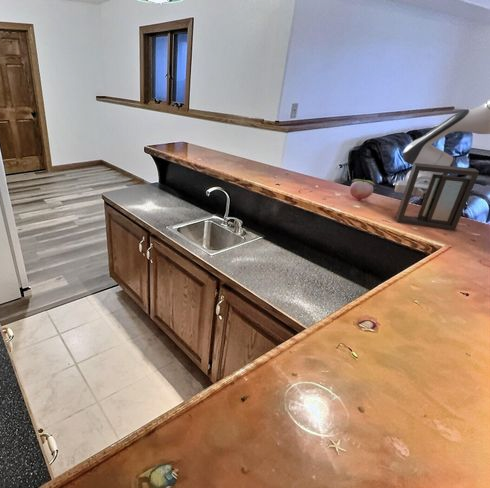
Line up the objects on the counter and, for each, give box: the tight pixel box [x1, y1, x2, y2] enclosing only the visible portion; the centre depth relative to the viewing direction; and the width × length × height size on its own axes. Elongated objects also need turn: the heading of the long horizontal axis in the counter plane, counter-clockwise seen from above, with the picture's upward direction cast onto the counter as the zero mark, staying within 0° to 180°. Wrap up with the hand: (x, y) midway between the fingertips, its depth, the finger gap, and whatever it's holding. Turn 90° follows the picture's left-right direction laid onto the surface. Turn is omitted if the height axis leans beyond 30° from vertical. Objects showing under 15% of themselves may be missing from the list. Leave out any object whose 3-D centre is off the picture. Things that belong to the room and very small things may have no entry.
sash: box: [416, 174, 458, 220], centre depth 128 cm, size 7×5×17 cm
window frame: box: [395, 163, 480, 231], centre depth 126 cm, size 18×5×22 cm, turn 65°
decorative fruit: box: [349, 177, 376, 201], centre depth 153 cm, size 9×8×10 cm
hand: (428, 195), depth 130 cm, fingers closed on sash, 2 cm apart
